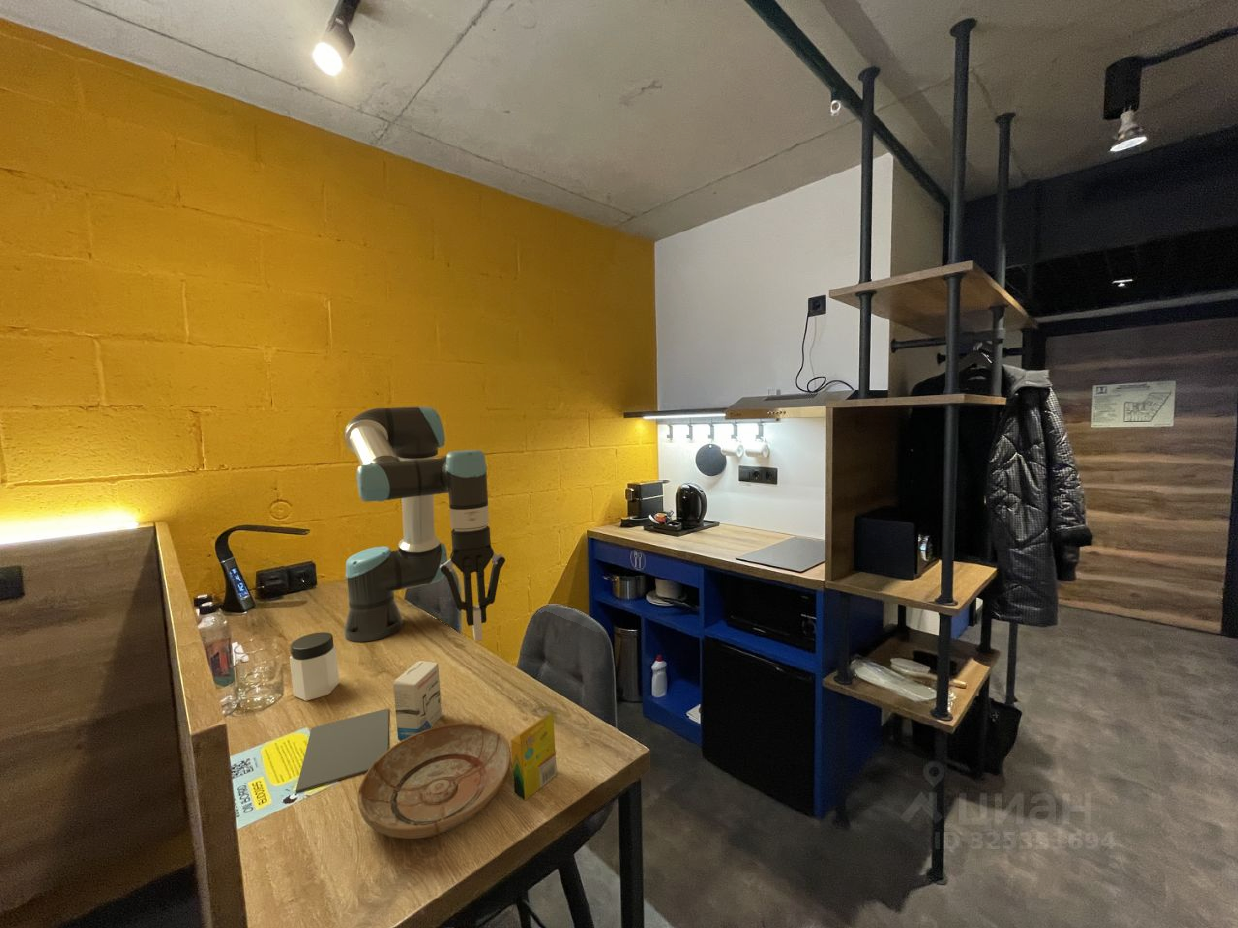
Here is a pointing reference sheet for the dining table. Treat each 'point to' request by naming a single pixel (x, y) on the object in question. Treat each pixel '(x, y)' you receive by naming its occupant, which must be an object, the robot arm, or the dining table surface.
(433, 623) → the dining table surface
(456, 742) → the ceramic bowl
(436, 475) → the robot arm
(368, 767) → the mat
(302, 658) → the jar
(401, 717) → the ink box
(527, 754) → the crayon box
